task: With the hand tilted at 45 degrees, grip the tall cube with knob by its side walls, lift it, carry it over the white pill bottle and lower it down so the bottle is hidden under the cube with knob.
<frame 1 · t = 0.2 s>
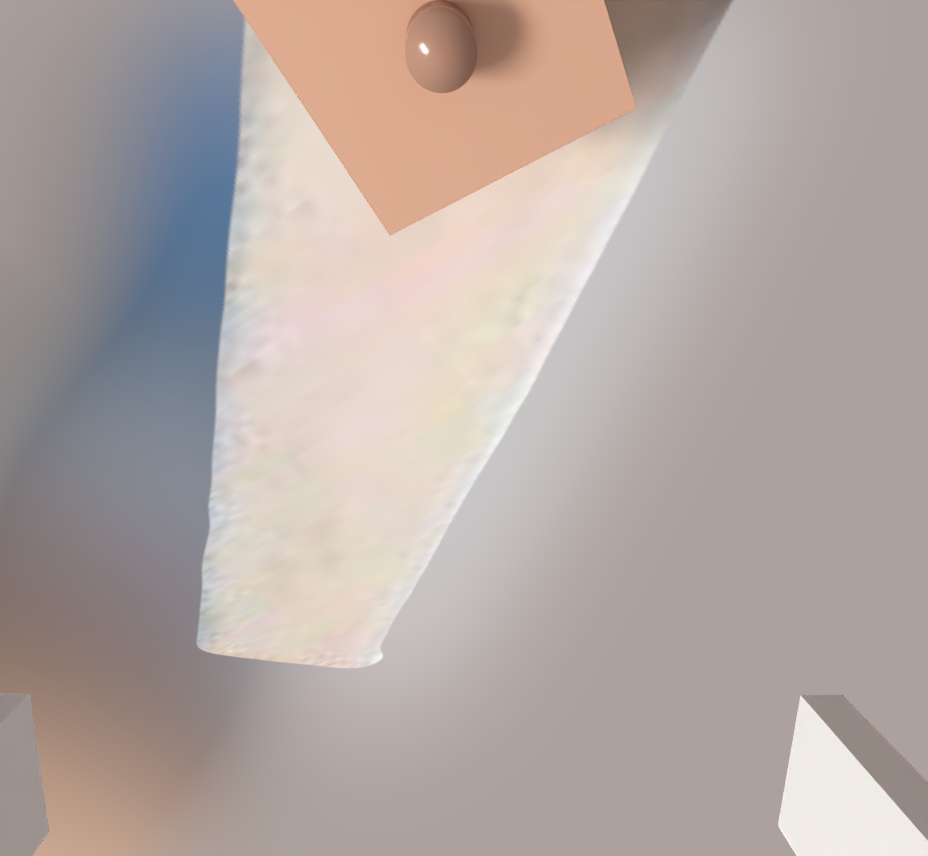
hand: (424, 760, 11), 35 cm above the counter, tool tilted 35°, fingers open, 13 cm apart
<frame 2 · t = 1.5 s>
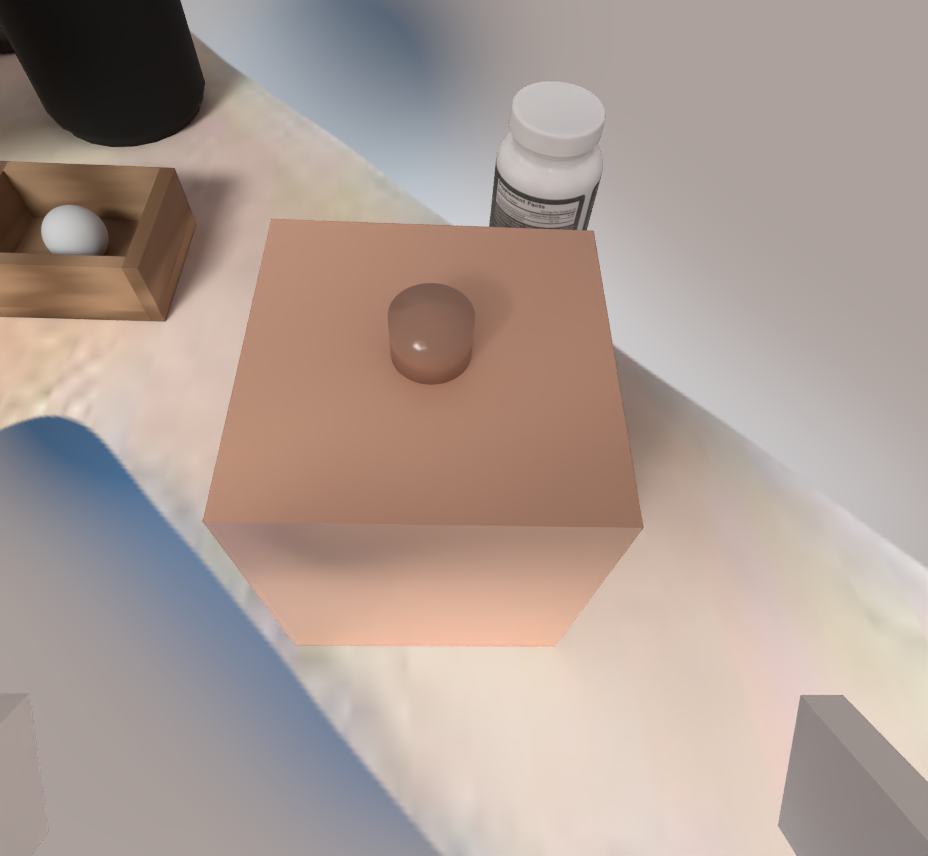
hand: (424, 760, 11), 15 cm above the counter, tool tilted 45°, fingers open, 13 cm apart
cube with knob: (429, 525, 30), on the counter
coffee jar: (134, 109, 46), on the counter
walnut open box: (94, 267, 37), on the counter
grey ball: (75, 235, 35), point 2 cm above the counter, touching walnut open box
pill bottle: (531, 260, 40), on the counter
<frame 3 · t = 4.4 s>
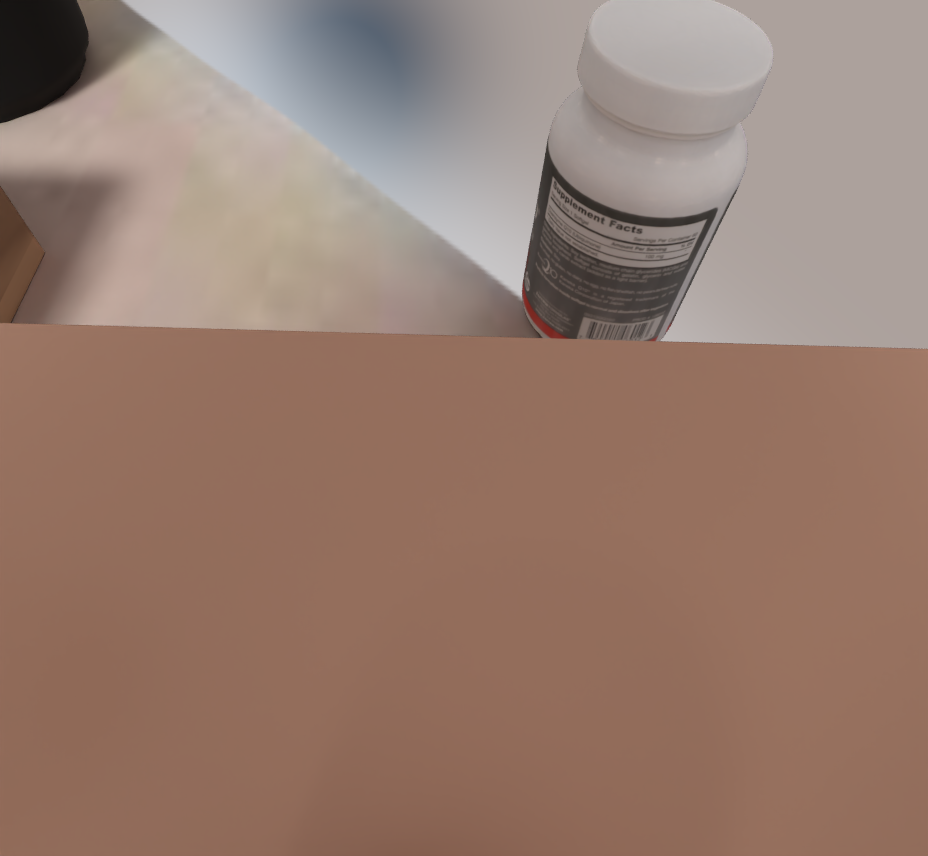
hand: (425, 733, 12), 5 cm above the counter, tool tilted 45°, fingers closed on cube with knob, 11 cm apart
pill bottle: (592, 312, 24), on the counter
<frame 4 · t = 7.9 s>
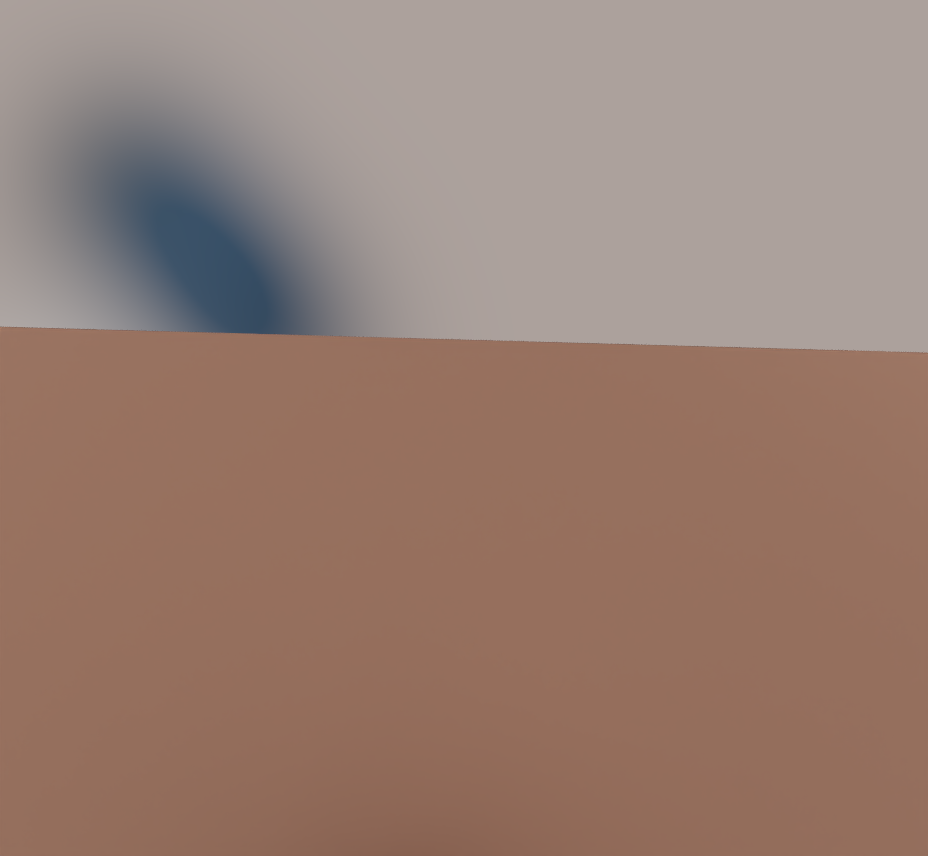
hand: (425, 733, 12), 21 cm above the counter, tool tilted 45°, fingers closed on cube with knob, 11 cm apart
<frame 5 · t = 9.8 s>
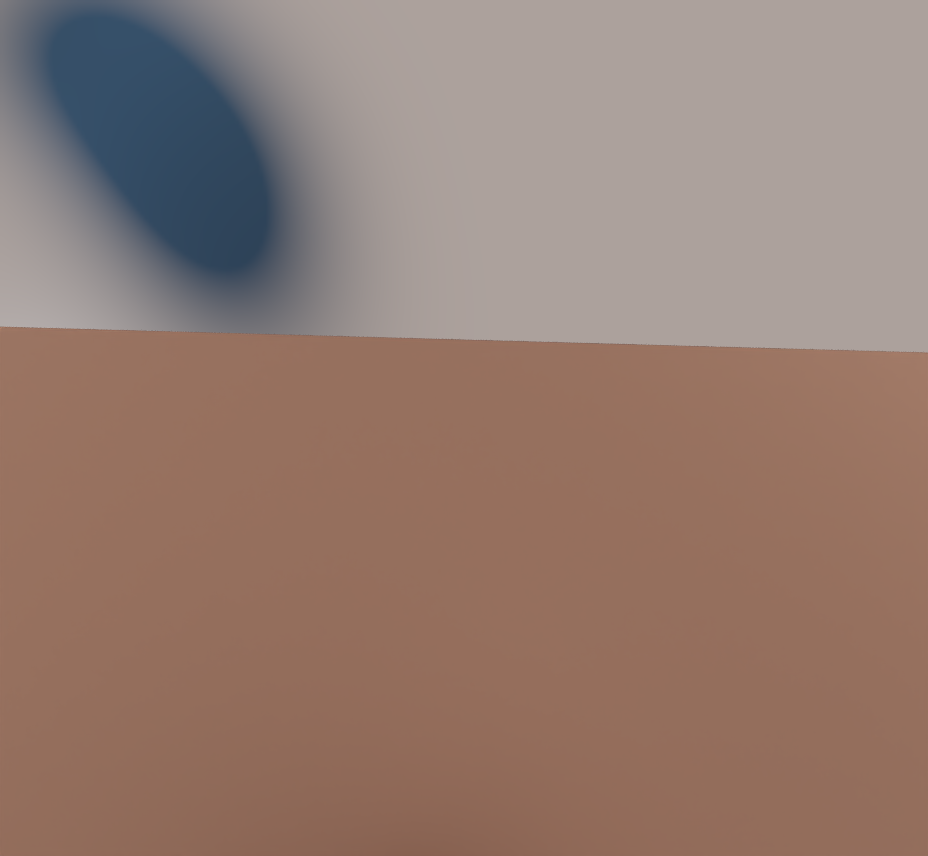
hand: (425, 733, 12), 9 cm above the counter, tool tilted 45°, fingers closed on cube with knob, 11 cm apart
when the fingers open (6 cm above the counter, at t = 11.2 s): cube with knob drops 1 cm, on the counter.
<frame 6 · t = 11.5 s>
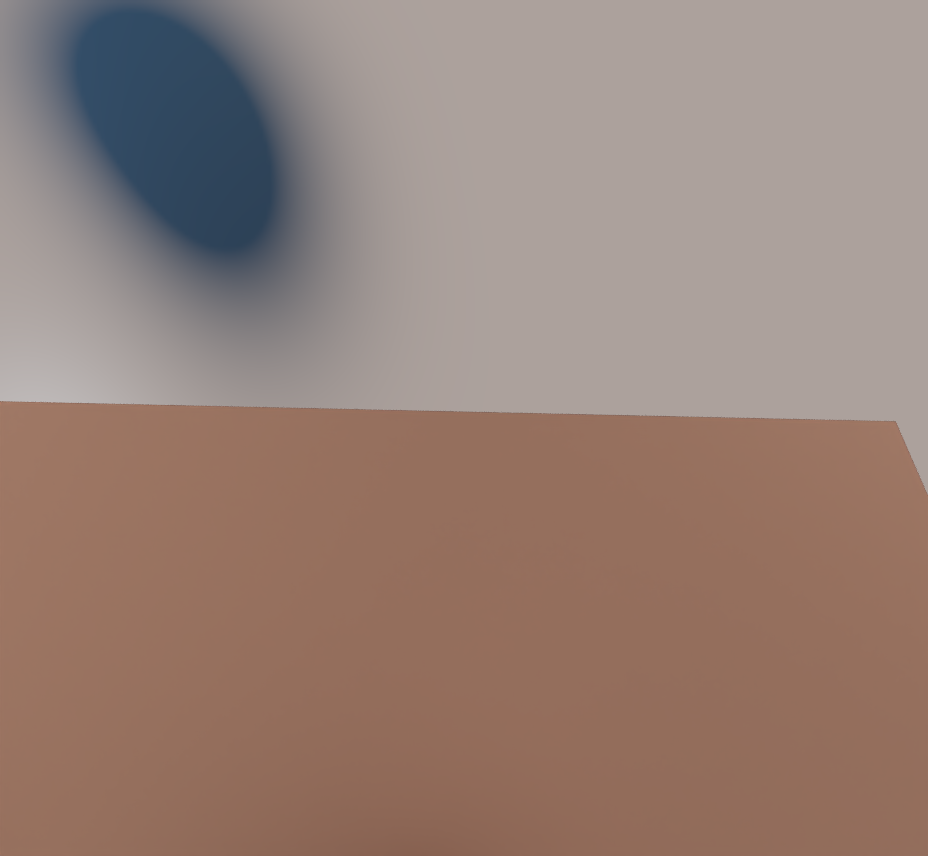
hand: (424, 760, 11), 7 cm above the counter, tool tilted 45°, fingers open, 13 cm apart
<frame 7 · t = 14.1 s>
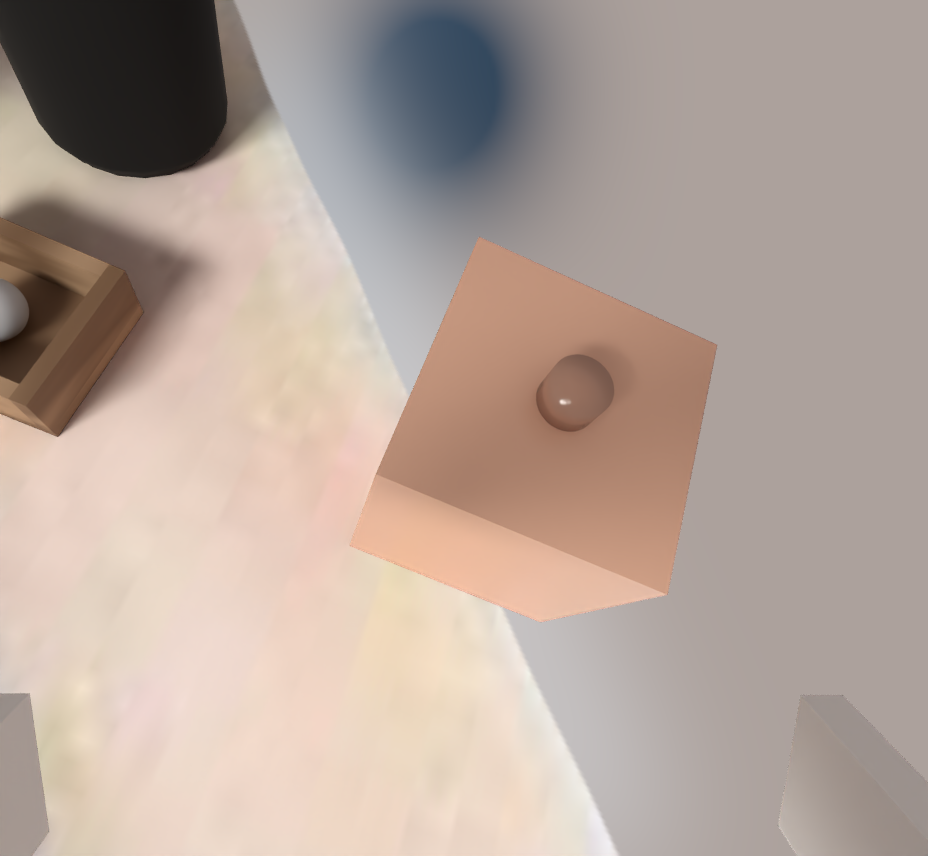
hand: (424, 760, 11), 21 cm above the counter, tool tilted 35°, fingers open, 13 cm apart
cube with knob: (478, 491, 36), on the counter
coffee jar: (139, 120, 39), on the counter
walnut open box: (9, 333, 33), on the counter
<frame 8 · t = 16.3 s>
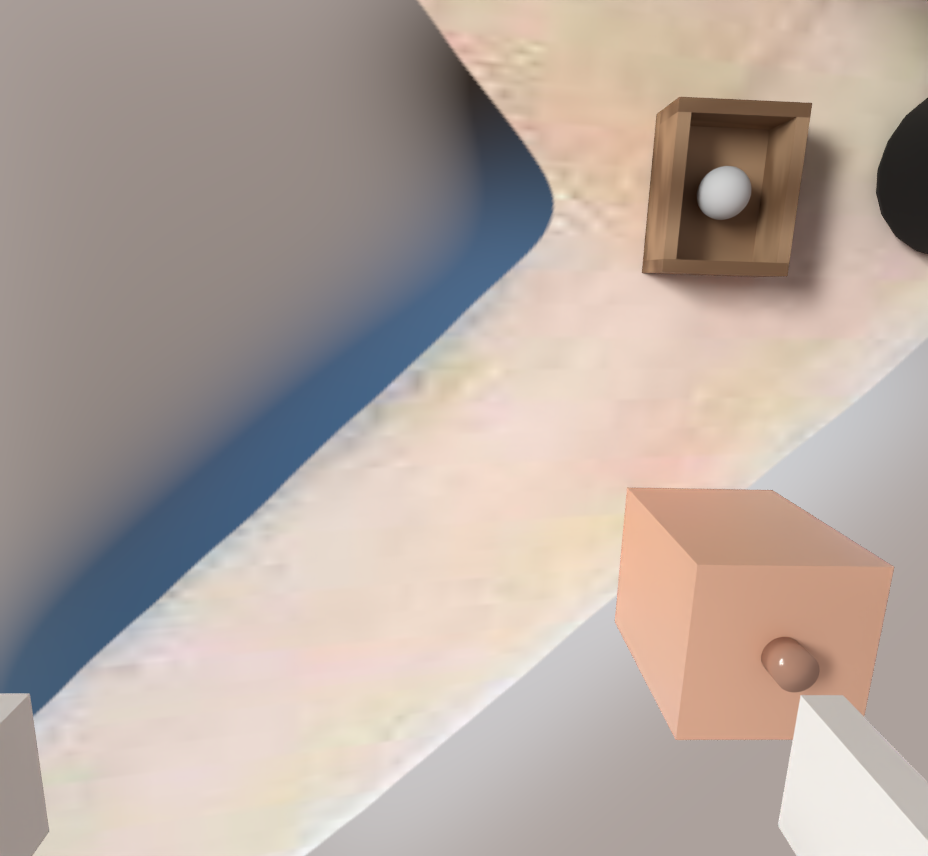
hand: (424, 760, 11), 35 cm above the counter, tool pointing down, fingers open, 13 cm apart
cube with knob: (691, 557, 48), on the counter
walnut open box: (707, 197, 42), on the counter
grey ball: (723, 193, 40), point 2 cm above the counter, touching walnut open box
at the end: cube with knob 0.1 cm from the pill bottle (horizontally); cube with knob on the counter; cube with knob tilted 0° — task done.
